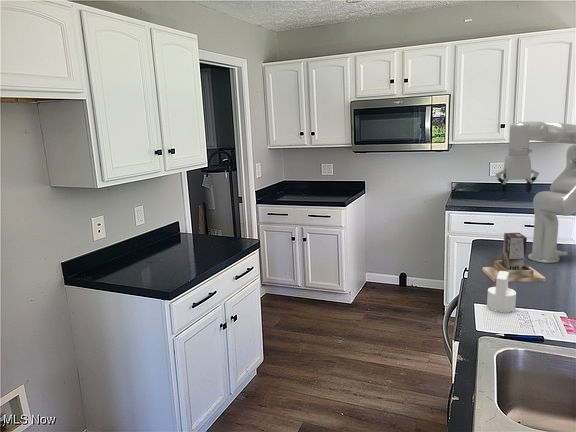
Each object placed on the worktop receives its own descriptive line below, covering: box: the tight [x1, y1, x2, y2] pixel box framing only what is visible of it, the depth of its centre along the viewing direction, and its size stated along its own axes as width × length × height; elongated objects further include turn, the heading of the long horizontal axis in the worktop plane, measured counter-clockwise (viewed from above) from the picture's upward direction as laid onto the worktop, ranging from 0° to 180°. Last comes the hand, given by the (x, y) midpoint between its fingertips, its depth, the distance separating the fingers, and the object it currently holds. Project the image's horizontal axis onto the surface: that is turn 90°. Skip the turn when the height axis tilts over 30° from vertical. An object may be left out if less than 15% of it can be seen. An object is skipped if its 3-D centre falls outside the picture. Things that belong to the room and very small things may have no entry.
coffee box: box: [502, 232, 528, 270], centre depth 183 cm, size 9×6×16 cm
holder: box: [481, 260, 546, 283], centre depth 184 cm, size 20×14×4 cm
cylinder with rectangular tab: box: [486, 271, 517, 313], centre depth 154 cm, size 9×9×12 cm
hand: (515, 192), depth 189 cm, fingers open, 9 cm apart
